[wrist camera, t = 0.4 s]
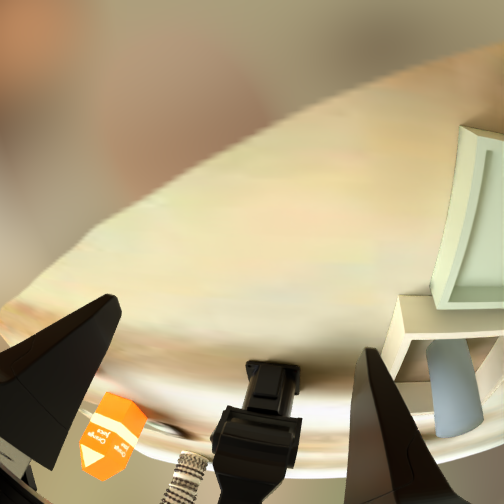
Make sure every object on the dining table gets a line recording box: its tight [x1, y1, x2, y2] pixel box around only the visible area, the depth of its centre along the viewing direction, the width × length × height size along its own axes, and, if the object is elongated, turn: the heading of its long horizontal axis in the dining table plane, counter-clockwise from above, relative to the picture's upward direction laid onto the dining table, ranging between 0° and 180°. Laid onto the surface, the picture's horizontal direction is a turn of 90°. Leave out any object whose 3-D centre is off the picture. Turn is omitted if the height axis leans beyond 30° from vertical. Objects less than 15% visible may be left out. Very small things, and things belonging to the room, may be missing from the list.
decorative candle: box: [160, 451, 209, 504], centre depth 62 cm, size 9×9×25 cm
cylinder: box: [426, 338, 484, 438], centre depth 23 cm, size 5×5×10 cm
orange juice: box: [79, 392, 147, 481], centre depth 50 cm, size 8×9×20 cm
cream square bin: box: [381, 295, 504, 416], centre depth 25 cm, size 16×16×4 cm
